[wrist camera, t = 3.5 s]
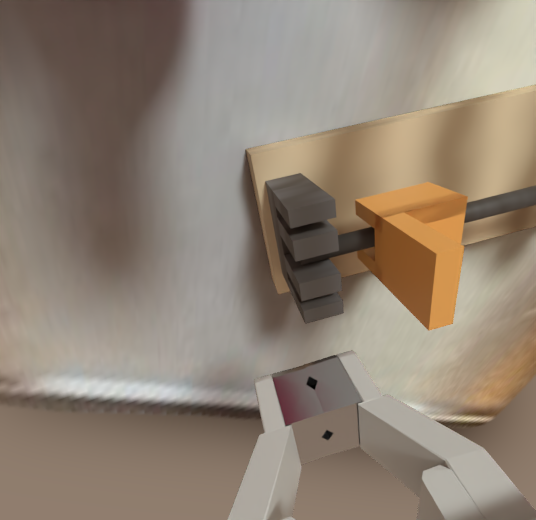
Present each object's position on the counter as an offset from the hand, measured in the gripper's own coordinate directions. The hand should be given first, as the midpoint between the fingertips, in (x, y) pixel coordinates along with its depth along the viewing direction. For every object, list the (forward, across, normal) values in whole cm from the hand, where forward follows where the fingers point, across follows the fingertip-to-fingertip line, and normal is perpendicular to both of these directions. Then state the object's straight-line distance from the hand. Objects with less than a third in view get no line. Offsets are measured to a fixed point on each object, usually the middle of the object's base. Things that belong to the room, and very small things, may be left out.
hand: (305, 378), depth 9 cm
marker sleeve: (+8, -7, 0) cm, 11 cm away
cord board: (+12, -13, 0) cm, 18 cm away
